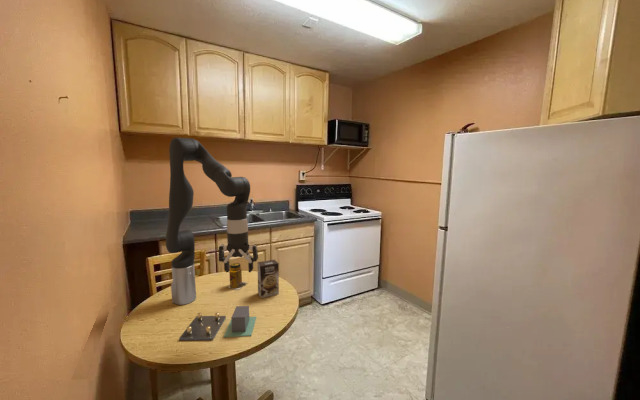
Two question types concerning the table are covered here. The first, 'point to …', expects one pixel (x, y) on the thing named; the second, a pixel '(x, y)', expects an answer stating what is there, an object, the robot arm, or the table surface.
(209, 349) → the table surface
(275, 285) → the coffee box
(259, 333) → the table surface
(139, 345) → the table surface
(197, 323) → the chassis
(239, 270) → the condiment
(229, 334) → the board
